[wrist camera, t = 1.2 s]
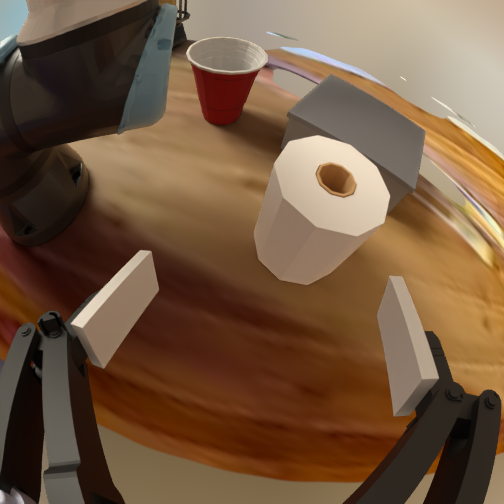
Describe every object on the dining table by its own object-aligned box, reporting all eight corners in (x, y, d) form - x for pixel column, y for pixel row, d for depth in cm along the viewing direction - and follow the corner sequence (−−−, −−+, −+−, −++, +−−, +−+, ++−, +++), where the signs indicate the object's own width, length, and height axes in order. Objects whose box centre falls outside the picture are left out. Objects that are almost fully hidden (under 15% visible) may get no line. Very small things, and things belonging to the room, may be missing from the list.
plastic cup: (205, 146, 36) (207, 74, 26) (177, 107, 40) (174, 44, 29) (269, 125, 40) (285, 61, 29) (235, 91, 43) (242, 33, 32)
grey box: (277, 148, 38) (288, 111, 32) (319, 103, 45) (330, 73, 38) (388, 217, 36) (415, 189, 29) (406, 156, 43) (425, 131, 36)
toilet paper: (351, 267, 32) (409, 216, 21) (274, 298, 29) (311, 252, 18) (314, 198, 35) (351, 131, 24) (240, 217, 32) (254, 143, 22)
